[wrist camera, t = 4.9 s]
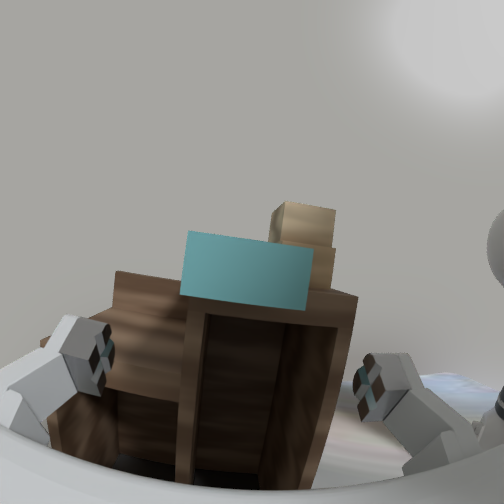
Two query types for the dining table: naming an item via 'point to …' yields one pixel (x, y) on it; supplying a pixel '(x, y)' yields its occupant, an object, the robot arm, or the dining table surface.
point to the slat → (246, 271)
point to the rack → (219, 373)
